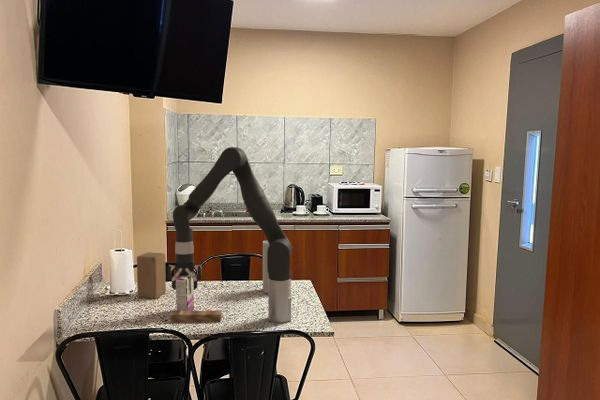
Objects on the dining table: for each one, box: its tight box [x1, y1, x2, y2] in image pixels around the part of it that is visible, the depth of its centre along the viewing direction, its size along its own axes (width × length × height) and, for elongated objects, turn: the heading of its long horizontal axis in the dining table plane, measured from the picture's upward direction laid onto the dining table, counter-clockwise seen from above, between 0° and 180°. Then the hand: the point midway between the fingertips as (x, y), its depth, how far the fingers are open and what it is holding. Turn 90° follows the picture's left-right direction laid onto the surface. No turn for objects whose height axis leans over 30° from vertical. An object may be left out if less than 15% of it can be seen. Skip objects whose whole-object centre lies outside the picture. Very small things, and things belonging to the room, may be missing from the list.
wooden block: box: [136, 251, 167, 300], centre depth 222 cm, size 10×10×20 cm
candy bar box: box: [175, 275, 195, 311], centre depth 199 cm, size 11×5×16 cm, turn 179°
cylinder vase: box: [262, 240, 269, 295], centre depth 231 cm, size 12×12×25 cm
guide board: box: [169, 309, 223, 323], centre depth 191 cm, size 20×5×3 cm, turn 94°
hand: (184, 289), depth 198 cm, fingers open, 8 cm apart
